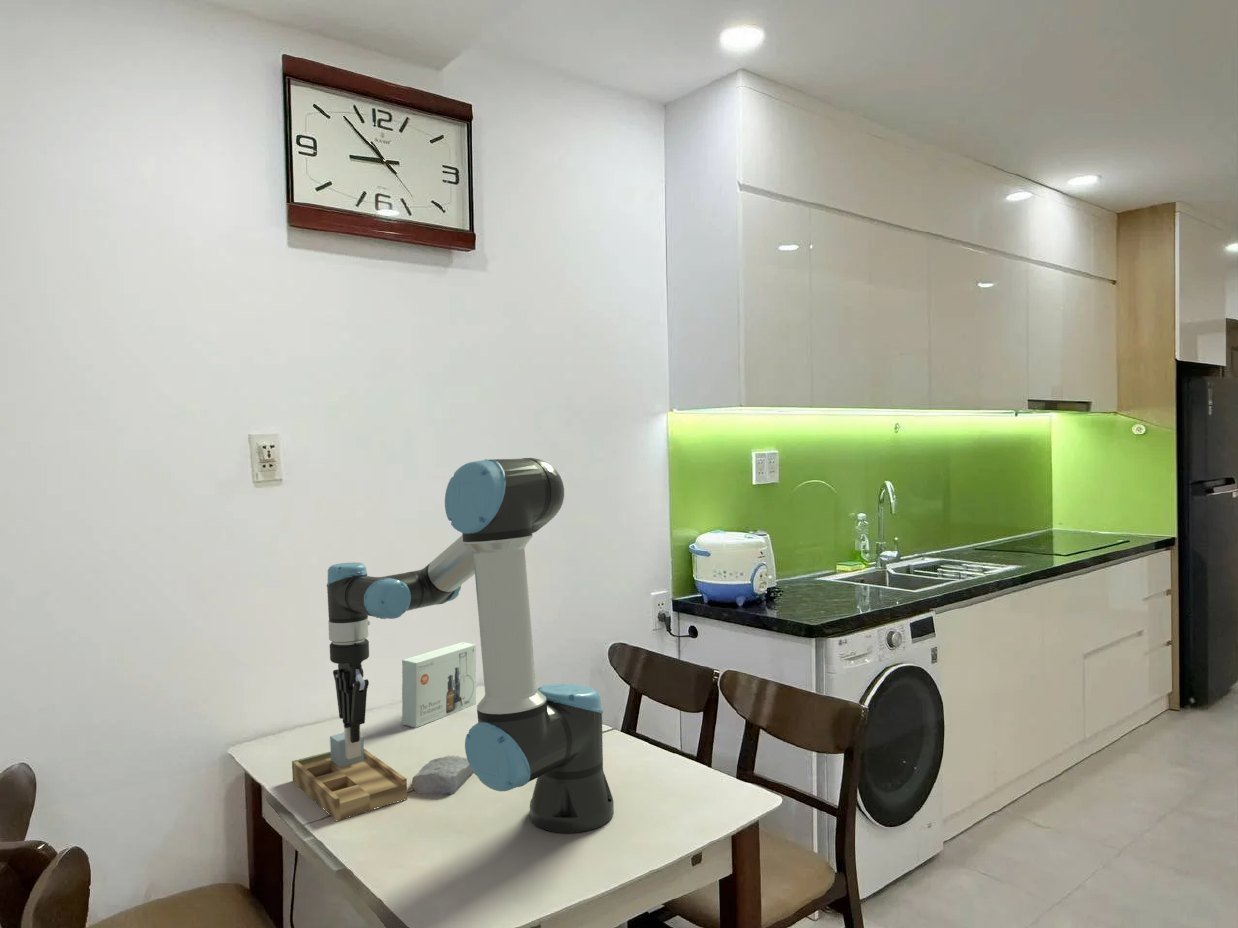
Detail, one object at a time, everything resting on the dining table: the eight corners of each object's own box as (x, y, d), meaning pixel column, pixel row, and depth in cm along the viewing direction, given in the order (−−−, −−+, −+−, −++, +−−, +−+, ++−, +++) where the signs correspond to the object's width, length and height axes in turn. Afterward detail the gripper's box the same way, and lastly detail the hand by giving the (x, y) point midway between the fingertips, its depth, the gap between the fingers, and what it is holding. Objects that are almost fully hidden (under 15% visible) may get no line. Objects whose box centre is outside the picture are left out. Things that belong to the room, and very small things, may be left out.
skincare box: (417, 729, 199) (415, 662, 199) (401, 725, 202) (399, 659, 202) (478, 704, 217) (476, 643, 216) (462, 701, 220) (461, 640, 219)
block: (364, 760, 172) (363, 736, 172) (339, 767, 169) (339, 742, 169) (354, 753, 176) (353, 730, 176) (330, 760, 173) (330, 735, 173)
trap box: (407, 799, 160) (406, 778, 160) (335, 821, 152) (335, 799, 151) (358, 762, 179) (358, 744, 179) (292, 780, 170) (292, 760, 170)
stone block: (409, 802, 163) (457, 795, 161) (404, 778, 163) (452, 770, 162) (434, 780, 175) (479, 772, 173) (429, 757, 175) (474, 749, 173)
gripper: (380, 642, 167) (384, 760, 167) (355, 632, 177) (358, 743, 177) (342, 649, 162) (346, 770, 163) (319, 637, 172) (323, 752, 173)
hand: (353, 756), depth 170 cm, fingers closed
